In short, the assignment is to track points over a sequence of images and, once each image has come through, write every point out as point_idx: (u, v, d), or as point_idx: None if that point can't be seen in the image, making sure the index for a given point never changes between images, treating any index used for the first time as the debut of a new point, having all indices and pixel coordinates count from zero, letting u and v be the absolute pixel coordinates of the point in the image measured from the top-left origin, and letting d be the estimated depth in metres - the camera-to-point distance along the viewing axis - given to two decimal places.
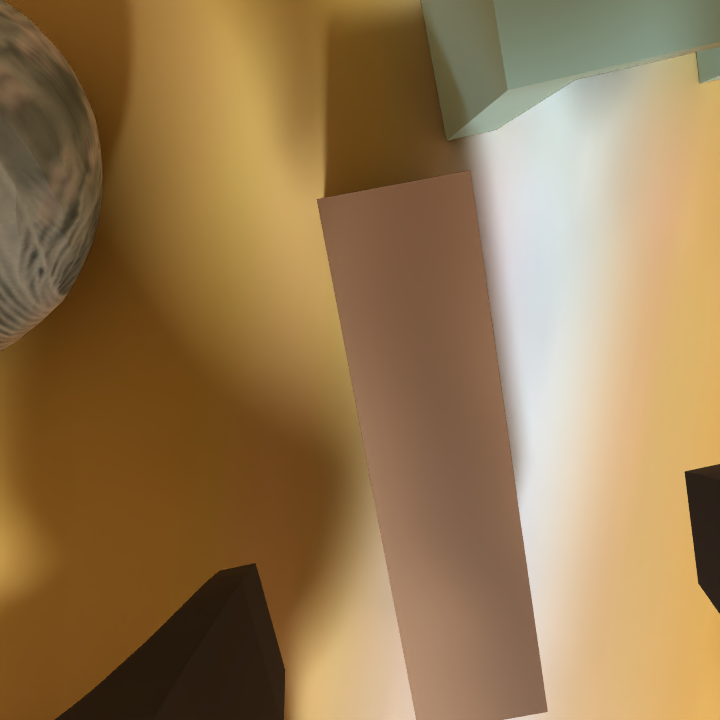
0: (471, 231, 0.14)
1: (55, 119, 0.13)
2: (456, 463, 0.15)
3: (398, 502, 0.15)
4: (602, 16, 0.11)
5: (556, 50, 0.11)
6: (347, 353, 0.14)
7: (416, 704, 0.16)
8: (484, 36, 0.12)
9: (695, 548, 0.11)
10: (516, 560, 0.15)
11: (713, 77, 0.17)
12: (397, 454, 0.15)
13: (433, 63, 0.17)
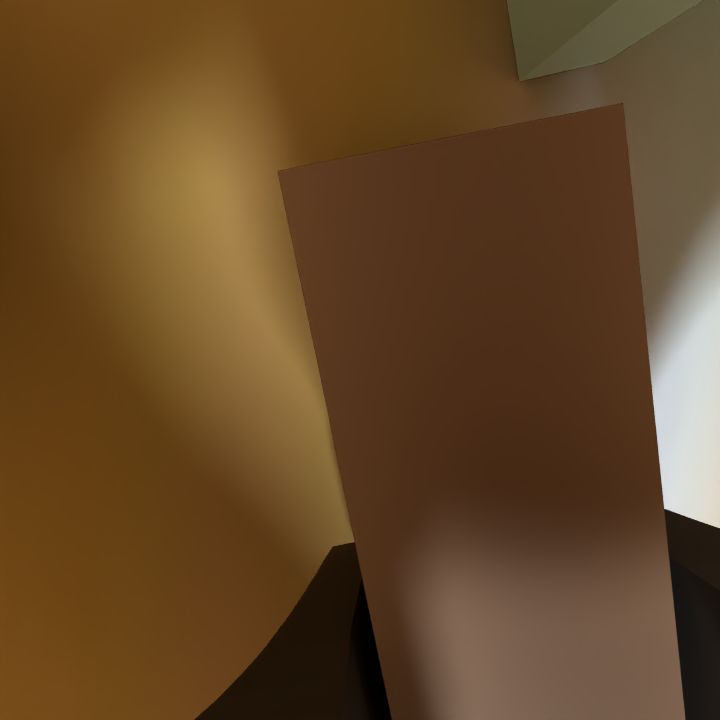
0: (621, 240, 0.06)
1: None
2: (571, 711, 0.07)
3: None
4: None
5: None
6: (348, 500, 0.07)
7: None
8: None
9: None
10: None
11: None
12: (451, 694, 0.07)
13: None
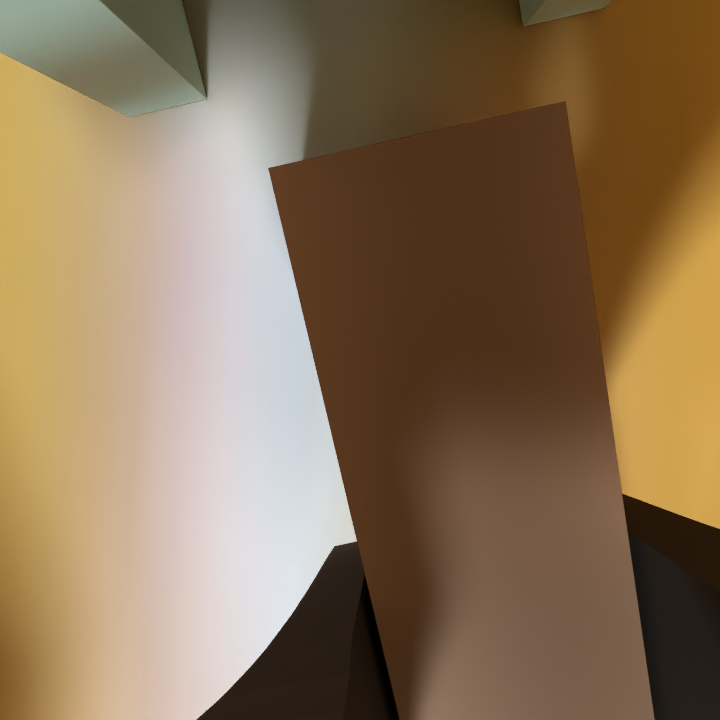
0: (568, 220, 0.07)
1: None
2: (543, 641, 0.08)
3: (440, 709, 0.08)
4: None
5: None
6: (339, 455, 0.08)
7: None
8: None
9: None
10: None
11: (534, 13, 0.11)
12: (435, 627, 0.08)
13: None
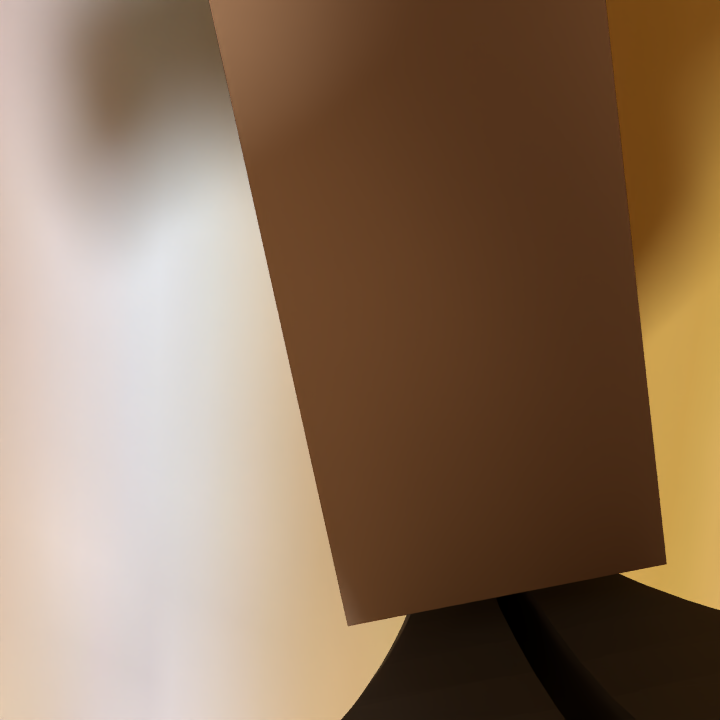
0: None
1: None
2: None
3: None
4: None
5: None
6: None
7: (338, 547, 0.06)
8: None
9: None
10: (593, 134, 0.06)
11: None
12: None
13: None
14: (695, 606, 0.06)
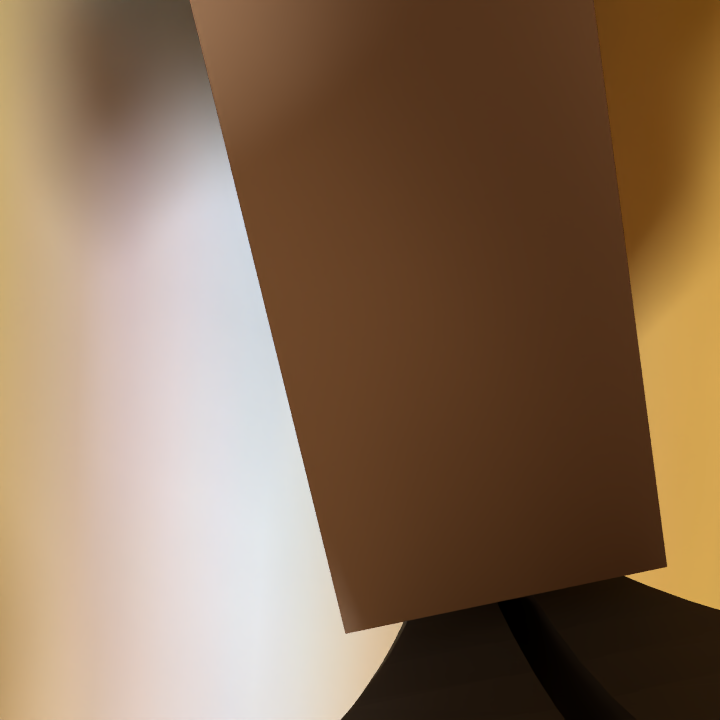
0: None
1: None
2: None
3: None
4: None
5: None
6: None
7: (334, 555, 0.06)
8: None
9: None
10: (583, 134, 0.06)
11: None
12: None
13: None
14: (695, 606, 0.06)
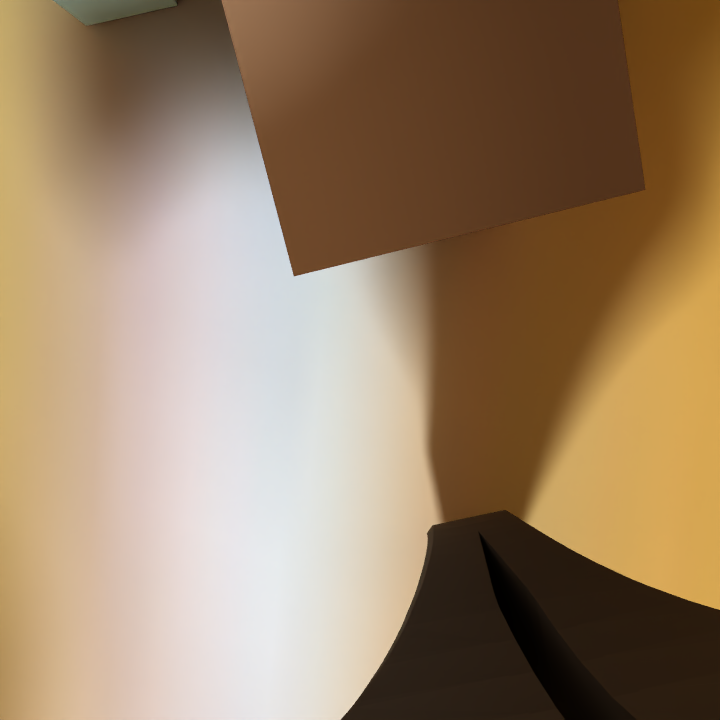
0: None
1: None
2: None
3: None
4: None
5: None
6: None
7: (277, 181, 0.06)
8: None
9: None
10: None
11: None
12: None
13: None
14: (695, 606, 0.06)
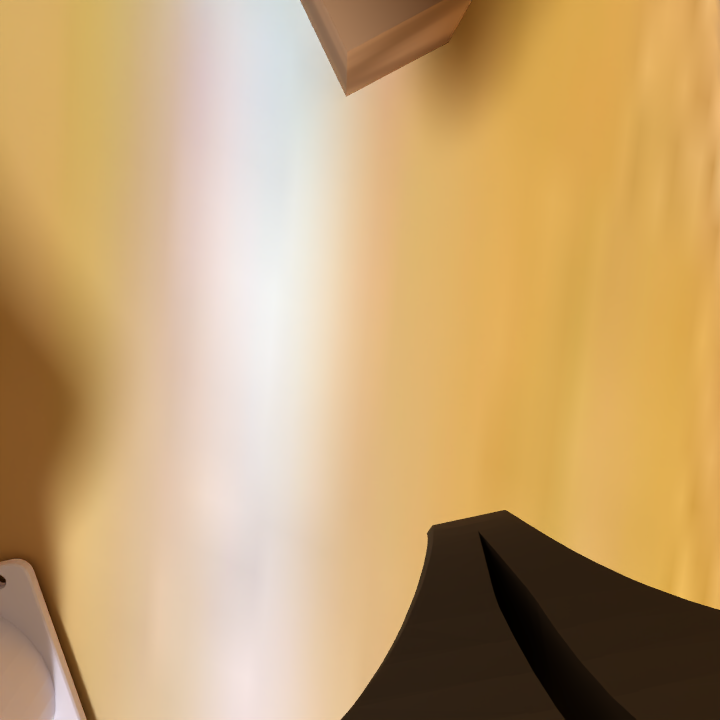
0: None
1: None
2: None
3: None
4: None
5: None
6: None
7: (331, 12, 0.14)
8: None
9: None
10: None
11: None
12: None
13: None
14: (695, 606, 0.06)
